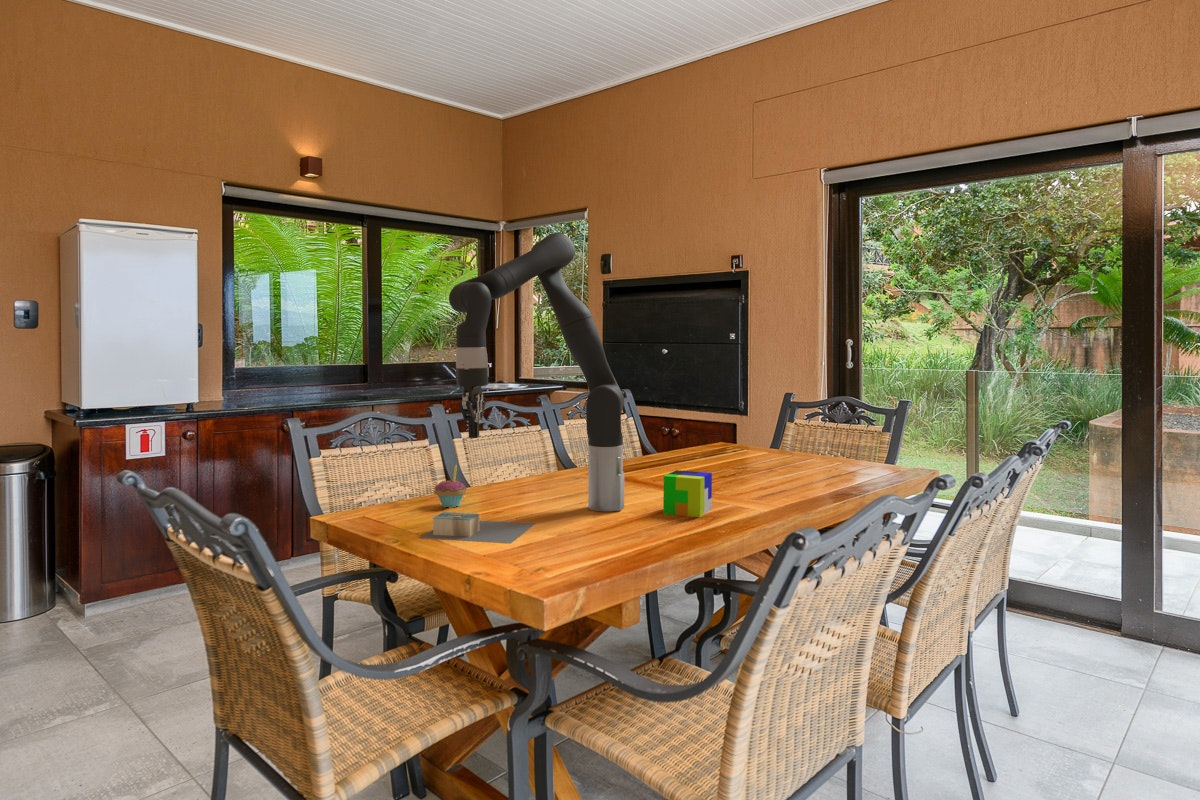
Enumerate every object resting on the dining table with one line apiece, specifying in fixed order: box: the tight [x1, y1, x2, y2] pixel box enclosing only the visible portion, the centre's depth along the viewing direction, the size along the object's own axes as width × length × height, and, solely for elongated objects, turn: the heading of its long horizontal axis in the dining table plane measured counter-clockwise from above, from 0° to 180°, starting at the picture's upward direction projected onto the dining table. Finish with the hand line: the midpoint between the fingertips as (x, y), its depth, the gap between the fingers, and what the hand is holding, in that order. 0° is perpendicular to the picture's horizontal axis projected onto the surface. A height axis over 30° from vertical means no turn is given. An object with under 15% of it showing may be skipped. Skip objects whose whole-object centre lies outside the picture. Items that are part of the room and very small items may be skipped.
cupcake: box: [433, 462, 468, 508], centre depth 209 cm, size 9×8×12 cm
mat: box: [418, 520, 537, 544], centre depth 181 cm, size 22×19×1 cm
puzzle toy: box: [662, 469, 713, 518], centre depth 202 cm, size 10×10×10 cm
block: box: [432, 511, 480, 537], centre depth 179 cm, size 6×4×9 cm
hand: (474, 437), depth 186 cm, fingers closed
